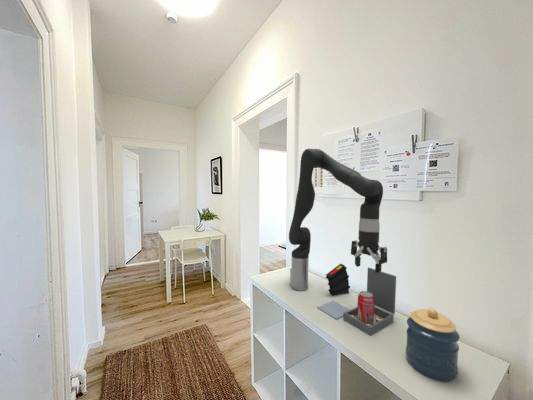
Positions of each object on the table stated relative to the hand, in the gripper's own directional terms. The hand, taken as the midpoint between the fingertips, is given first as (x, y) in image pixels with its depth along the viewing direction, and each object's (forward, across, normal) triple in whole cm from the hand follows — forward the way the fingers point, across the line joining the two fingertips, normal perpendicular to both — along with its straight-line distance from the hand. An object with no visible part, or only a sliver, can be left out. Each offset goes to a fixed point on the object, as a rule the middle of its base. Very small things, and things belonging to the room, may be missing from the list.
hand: (367, 269), depth 90 cm
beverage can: (+22, 0, 0) cm, 22 cm away
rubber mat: (+22, -13, -3) cm, 26 cm away
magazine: (+22, -23, +11) cm, 34 cm away
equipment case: (+22, 0, +2) cm, 22 cm away
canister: (+22, +24, -4) cm, 33 cm away
